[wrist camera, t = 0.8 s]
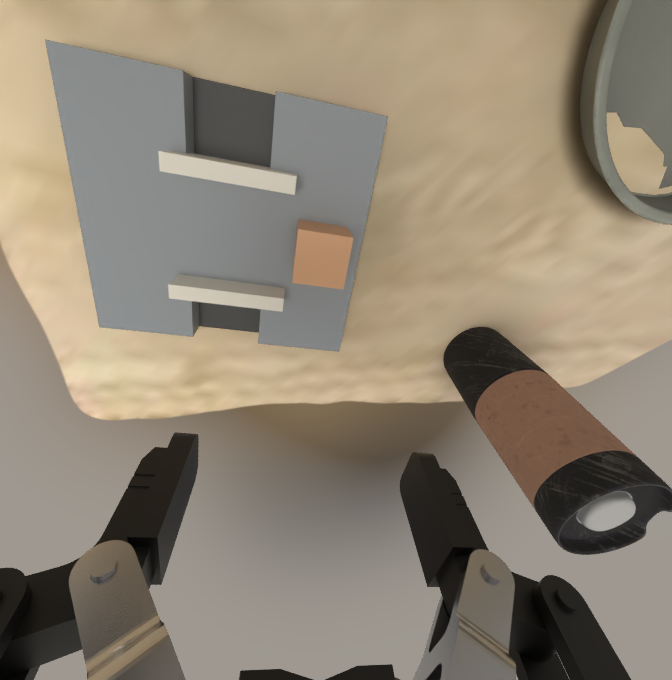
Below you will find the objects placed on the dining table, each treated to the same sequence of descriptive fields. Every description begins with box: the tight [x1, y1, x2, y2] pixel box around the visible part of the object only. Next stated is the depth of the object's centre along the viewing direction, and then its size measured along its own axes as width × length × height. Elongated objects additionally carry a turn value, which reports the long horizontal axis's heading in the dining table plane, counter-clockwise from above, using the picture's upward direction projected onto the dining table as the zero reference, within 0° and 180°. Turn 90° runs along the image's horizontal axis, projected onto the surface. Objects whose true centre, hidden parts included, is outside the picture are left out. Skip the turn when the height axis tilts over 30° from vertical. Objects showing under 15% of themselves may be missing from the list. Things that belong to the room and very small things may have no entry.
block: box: [292, 219, 353, 290], centre depth 26 cm, size 4×4×4 cm
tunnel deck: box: [45, 40, 388, 352], centre depth 27 cm, size 20×22×5 cm
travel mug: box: [444, 327, 672, 555], centre depth 30 cm, size 8×8×20 cm
